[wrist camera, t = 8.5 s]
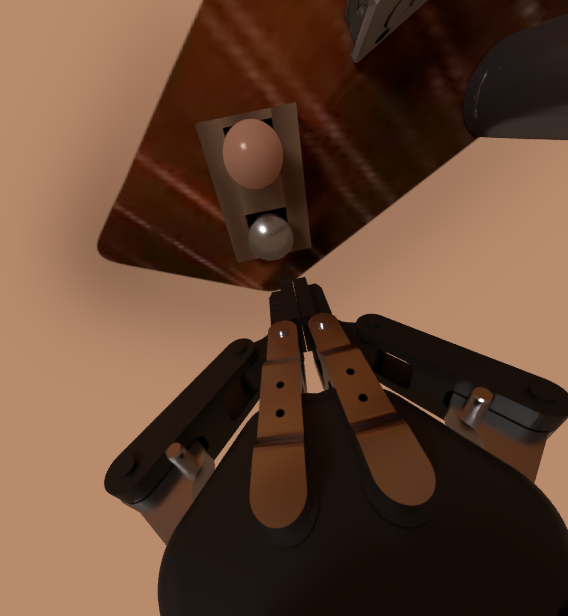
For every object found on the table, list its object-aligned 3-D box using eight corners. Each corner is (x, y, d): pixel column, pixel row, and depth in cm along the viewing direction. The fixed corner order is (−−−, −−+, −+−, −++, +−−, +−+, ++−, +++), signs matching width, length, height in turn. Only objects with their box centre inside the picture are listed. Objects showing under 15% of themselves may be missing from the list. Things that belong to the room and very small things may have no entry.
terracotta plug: (271, 116, 26) (277, 112, 20) (280, 172, 29) (287, 183, 23) (223, 127, 26) (214, 125, 20) (236, 180, 29) (232, 194, 23)
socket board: (289, 106, 28) (296, 102, 24) (304, 234, 36) (311, 247, 32) (203, 124, 28) (194, 123, 24) (239, 248, 37) (237, 262, 33)
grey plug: (282, 197, 33) (289, 212, 27) (288, 234, 36) (296, 256, 30) (244, 204, 33) (243, 221, 27) (254, 241, 36) (254, 264, 30)
